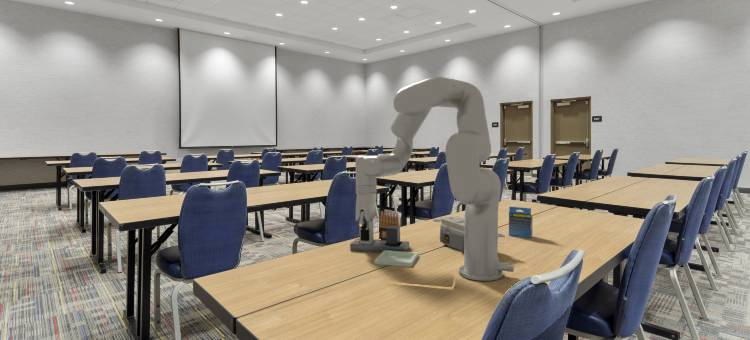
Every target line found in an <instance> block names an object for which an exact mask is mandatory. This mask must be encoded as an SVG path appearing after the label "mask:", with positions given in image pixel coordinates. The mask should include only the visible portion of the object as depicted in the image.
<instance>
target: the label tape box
mask: <svg viewBox="0 0 750 340" xmlns="http://www.w3.org/2000/svg"><path fill="white" fill-rule="evenodd" d="M508 210H509V211H508V236H509V237H517V236H518V237H519V238H520V237H521V238H528V239H529V238H530V239H531V238H532V237H533V215H532V208H531V207H519V206H509V209H508ZM519 210H520V211H519Z"/></svg>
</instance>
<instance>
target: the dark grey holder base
mask: <svg viewBox="0 0 750 340" xmlns="http://www.w3.org/2000/svg"><path fill="white" fill-rule="evenodd" d="M349 248H350V249H349V250H350V251H351V252H352V251H354V252H355V251H356V252H365V253H380V254H381V253H382V252H383V251H384V250H389V251H403V252H409V249H410V241H406V240H405V241H403V240H401V226H400V225H399V226H388V227H387V228H386V240H379V239H374V243H373V244H360V238H358V237H357V238H356V239H355V240H353V241H352V242H350V244H349Z"/></svg>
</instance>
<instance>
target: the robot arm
mask: <svg viewBox="0 0 750 340" xmlns="http://www.w3.org/2000/svg"><path fill="white" fill-rule="evenodd" d="M435 107H440V108H452V109H453V108H454V109H457V112H456V126H457V130H458V131H457V132H455V133H454V134H452V135H451V136H450V137H449V138H448V140H447V141H446V144H445V151H444V153H445V162H446V167H447V174H448V179H449V180H448V181H449V185H450V186H449V187H450V191H451V193H452V196H453V198H454V199H455V200H456V201H457V202H458V203H460V204H462V205H465V208H464V218H465V227H464V251H463V253H464V254H463V255H464V258H463V263H464V264H463V265H461V266H460V267H459V268H458V274H460V276H462V277H463V278H466V279H468V280H474V281H481V282H482V281H483V282H490V281H497V280H499V279H501V278H502V277H503V274H504V273H503V272H510V273H514V270H515V269H514V264H510V263H509V262H502V261H499V257H498V242H499V241H498V239H499V237H498V234H499V233H498V232H499V228H498V227H499V226H498V223H499V207H500V206H499V205H500V198H501V193H502V192H501V191H502V190H501V189H502V184H501V180H500V177H499V175H498V174H497V173H496V172H495V171H493V170H492V169H490V168H487V167H480V166H481V165H480V164H483V163H485V162H486V161H487V160H488V159H489V158H490V157H491V155H492V154H491V153H492V145H491V139H490V132H489V128H488V122H487V116H486V110H485V109H486V108H485V102H484V98H483V95H482V92H481V91H480V89H478V87H477V86H475V85H474V84H472V83H470V82H467V81H463V80H458V79H454V78H449V77H444V76H432V77H430V78H426V79H423V80H420V81H418V82H415V83H412V84H409V85H406V86H404V87H402V88H401V89H399V90H398V91H397V92H396V93H395V95H394V98H393V108H394V110H395V112H396V113H397V115H396V117H395V118H394V120H393V122H392V124H391V126H390V131H391V132H392V134H393V135H394V136H395V137H396V144H395V146H394V147H393V149H392V151H391V152H390V154H381V155H379V154H378V155H370V154H368V155H367V154H366V155H365V154H364V155H357V156H356V157H355V159H354V160H355V165H354V166H355V194H356V200H355V221H356V222H358V224H359V239H361V241H369V230H368V224H369V221H370V220H372V221H373V222H374V218H375V217H376V196H375V194H377V192H378V191H377V190H378V189H377V186H378V185H377V178H382V177H383V178H385V177H389V176H396V175H398V174H400V172H402V170H403V169H404V168H405V166H406V165H407V163H408V162H409V161H410V158H411V156H412V153H413V147H414V138H415V136H416V135H417V133H418V131H419V130H420V128H421V127H422V125H423V123H424V122H425V120H426V119H427V117H428V116H429V113H430V111H432V108H435ZM364 220H366V221H364ZM364 223H366V224H364Z"/></svg>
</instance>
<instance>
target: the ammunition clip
mask: <svg viewBox="0 0 750 340" xmlns="http://www.w3.org/2000/svg"><path fill="white" fill-rule="evenodd" d="M379 219H380V220H379V228H378V240H379V239H381V240H386V228H387V227H388V226H400V222H399V220H400V219H399V214H398V213H397V212H396V213H395V212H393V213H392V212H391V211H390V212H389V211H387V212H386V210H384V211H383V210H381V211H380V218H379Z"/></svg>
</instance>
